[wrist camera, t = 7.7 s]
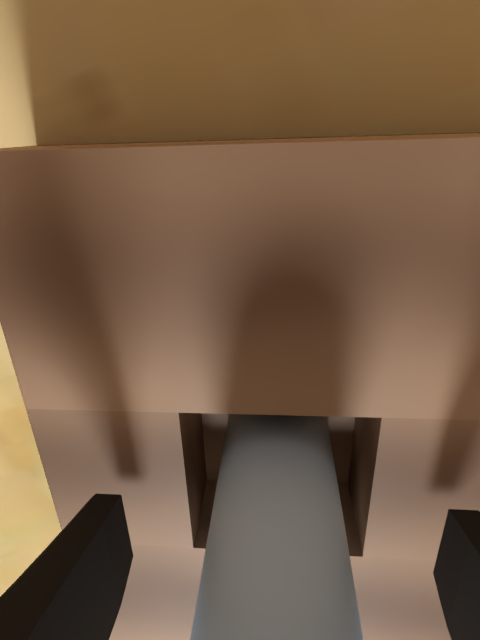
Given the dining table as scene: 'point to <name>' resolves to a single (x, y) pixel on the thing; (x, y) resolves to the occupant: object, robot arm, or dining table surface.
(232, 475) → the pin
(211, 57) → the dining table surface
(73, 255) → the socket block
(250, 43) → the dining table surface
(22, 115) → the dining table surface
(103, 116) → the dining table surface
